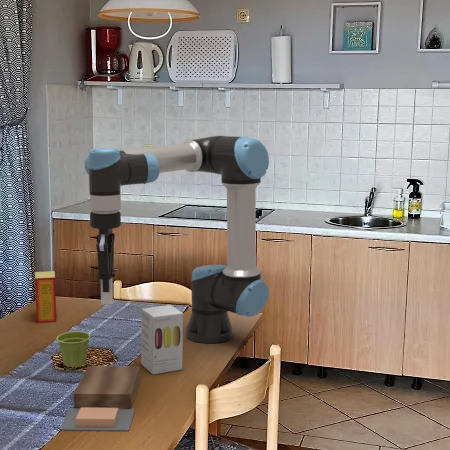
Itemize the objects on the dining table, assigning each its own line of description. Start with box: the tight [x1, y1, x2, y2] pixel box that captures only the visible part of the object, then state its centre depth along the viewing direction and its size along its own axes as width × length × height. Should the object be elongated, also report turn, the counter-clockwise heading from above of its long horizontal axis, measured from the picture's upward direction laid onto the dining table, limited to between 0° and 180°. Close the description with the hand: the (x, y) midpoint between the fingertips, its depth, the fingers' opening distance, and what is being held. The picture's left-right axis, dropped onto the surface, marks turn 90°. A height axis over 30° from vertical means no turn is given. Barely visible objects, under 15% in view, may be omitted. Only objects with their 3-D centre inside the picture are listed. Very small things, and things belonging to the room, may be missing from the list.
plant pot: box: [56, 331, 91, 367], centre depth 198 cm, size 9×9×9 cm
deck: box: [73, 365, 141, 409], centre depth 179 cm, size 14×18×4 cm
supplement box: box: [140, 304, 184, 375], centre depth 197 cm, size 10×9×17 cm
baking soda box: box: [34, 270, 57, 324], centre depth 239 cm, size 10×6×16 cm
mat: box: [59, 407, 136, 432], centre depth 165 cm, size 16×11×1 cm
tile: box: [76, 407, 119, 427], centre depth 164 cm, size 9×6×2 cm, turn 90°
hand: (107, 303), depth 175 cm, fingers closed
